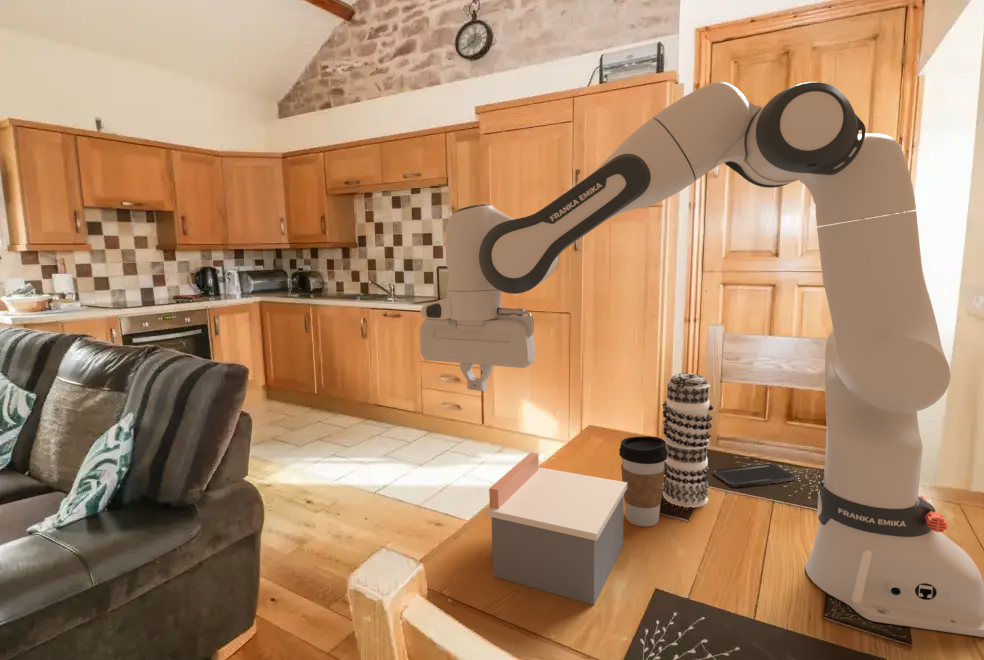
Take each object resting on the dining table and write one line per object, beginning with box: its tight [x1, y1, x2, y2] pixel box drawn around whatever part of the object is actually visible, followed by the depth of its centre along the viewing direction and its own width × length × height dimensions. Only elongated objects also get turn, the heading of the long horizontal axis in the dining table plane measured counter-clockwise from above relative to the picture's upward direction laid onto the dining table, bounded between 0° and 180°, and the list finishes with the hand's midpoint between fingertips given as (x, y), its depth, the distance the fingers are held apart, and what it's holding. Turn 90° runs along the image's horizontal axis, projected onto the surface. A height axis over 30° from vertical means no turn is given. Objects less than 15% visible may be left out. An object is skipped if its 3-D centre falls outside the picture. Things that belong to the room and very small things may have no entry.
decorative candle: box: [662, 372, 714, 509], centre depth 104 cm, size 9×9×25 cm
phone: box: [713, 463, 796, 489], centre depth 115 cm, size 8×1×15 cm
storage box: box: [490, 495, 624, 606], centre depth 85 cm, size 16×17×10 cm
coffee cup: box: [618, 435, 667, 527], centre depth 97 cm, size 8×8×15 cm
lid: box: [486, 452, 627, 541], centre depth 84 cm, size 17×18×4 cm
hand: (477, 389), depth 89 cm, fingers closed
